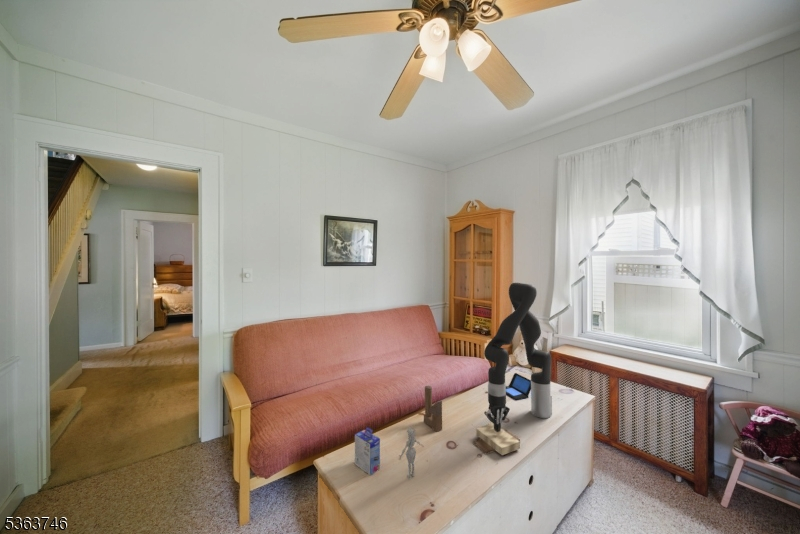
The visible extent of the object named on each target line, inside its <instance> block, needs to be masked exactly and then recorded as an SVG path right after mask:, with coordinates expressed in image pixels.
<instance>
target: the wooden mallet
mask: <svg viewBox="0 0 800 534" xmlns="http://www.w3.org/2000/svg"><path fill="white" fill-rule="evenodd" d="M423 422H424V423H425V424H426V425H427V426H429V427H430V428H432V430H434V431H435V432H440V431H443V401H442V400H440V401H435V403H434V404H433V388H432V386H431V385H426V386H424V414H423Z"/></svg>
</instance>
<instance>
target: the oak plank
mask: <svg viewBox="0 0 800 534" xmlns="http://www.w3.org/2000/svg"><path fill="white" fill-rule="evenodd" d="M504 430H505V429H502V428H501V430H500V432H496V431H495V430H494V423H492V422H490V423H488V424H485V425H482V426H478V427H476V428H475V431H476V432H475V436H476V437H479V439H482V440H484V441H485V442H486V443H487V444H488V445H490V446H491V447H492V448H493V449H495V450H496V452H497V453H498V454H499V455H501V456H504V455H507V454H510V453H512V452H515V451H517V450H520V449H521V440H520V441H519V440H517V439H516V438H514V437H513V436H511V435H510V434H509V433H507V432H506V431H504Z"/></svg>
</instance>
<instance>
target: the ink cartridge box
mask: <svg viewBox="0 0 800 534" xmlns="http://www.w3.org/2000/svg"><path fill="white" fill-rule="evenodd" d="M373 431H374V430H373V429H371V428H370V427H366V429H362V430H361V431H359V432H356V433H355V434H354V465H356V466H357V467H358V468H359V469H361V470H362V471H364V472H365V473H366V474H367V475H369V476H371V475H373V474H375V473H376V472H378V471H380V469H381V448H380V447H381V444H380V443H381V440H380V439H381V438H380V437H378V436H377V435H374V434H373ZM377 470H378V471H377Z"/></svg>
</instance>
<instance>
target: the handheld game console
mask: <svg viewBox="0 0 800 534" xmlns="http://www.w3.org/2000/svg"><path fill="white" fill-rule="evenodd" d="M530 394H531V379H529V378H527V377H525V376H523V375H521V374H520V373H517V372H515V373H514V374H513V376H512V378H511V380H510V383H509V384H508V385H506V396H508V397H510V398H511V399H513V400H514V401H520V400H525V399H529V395H530Z"/></svg>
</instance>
